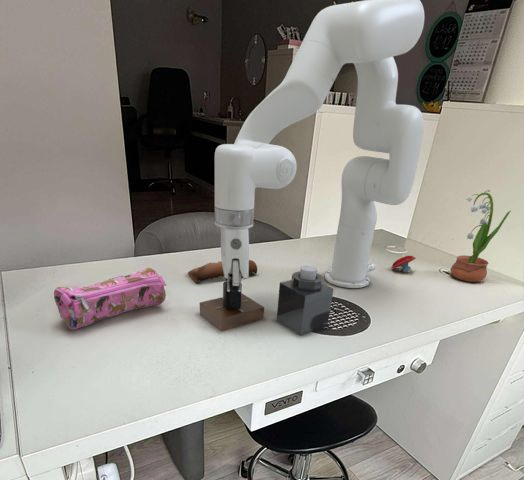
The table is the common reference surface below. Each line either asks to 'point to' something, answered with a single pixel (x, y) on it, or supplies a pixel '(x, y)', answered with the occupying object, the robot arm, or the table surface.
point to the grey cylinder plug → (308, 272)
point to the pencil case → (109, 298)
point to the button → (403, 263)
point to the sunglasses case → (214, 271)
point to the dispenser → (304, 304)
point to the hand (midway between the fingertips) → (232, 302)
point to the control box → (231, 313)
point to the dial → (225, 292)
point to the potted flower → (477, 246)
